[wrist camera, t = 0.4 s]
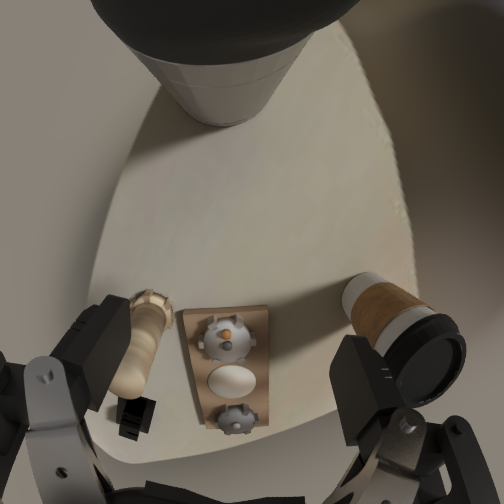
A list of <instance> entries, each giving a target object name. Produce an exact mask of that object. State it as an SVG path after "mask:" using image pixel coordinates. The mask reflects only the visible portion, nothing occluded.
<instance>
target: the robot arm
mask: <svg viewBox="0 0 504 504" xmlns="http://www.w3.org/2000/svg"><path fill="white" fill-rule="evenodd" d="M359 1H360V0H91V2H92V5H93V7H94V9H95V10H96V12H97V13H98V15H99V16H100V18H101V19H102V20H103V21H104V22H105V24H106V25H107V26H108V27H109V28H110V29H111V30H112V31H113V32H114V33H115V34H116V35H117V36H118V37H119V38H120V40H121V41H122V42H123V43H124V44H125V45H126V46H127V47H128V48H129V49H130V50H131V51H132V52H133V53H134V55H135V56H136V57H137V58H138V59H139V60H140V61H141V62H142V63H143V64H144V65H145V66H146V67H147V68H148V69H149V71H150V72H151V73H152V74H153V75H154V76H155V77H156V78H157V79H158V81H159V82H160V83H161V84H162V85H163V86H164V87H165V88H166V90H167V91H168V92H169V93H170V94H171V95H172V96H173V98H174V99H175V100H176V101H177V102H178V103H179V104H180V105H181V106H182V108H183V109H184V110H185V111H186V112H187V113H188V114H189V115H190V116H191V117H193V118H194V119H195V120H197V121H200V122H202V123H204V124H208V125H212V126H222V127H226V126H233V125H237V124H240V123H243V122H246V121H247V120H249V119H251V118H252V117H254V116H255V115H256V114H258V113H259V112H260V111H261V110H262V109H263V107H264V106H265V105H266V103H267V102H268V100H269V99H270V97H271V96H272V94H273V93H274V91H275V90H276V88H277V87H278V85H279V84H280V82H281V80H282V79H283V77H284V76H285V74H286V73H287V71H288V70H289V68H290V67H291V65H292V64H293V63H294V61H295V60H296V58H297V57H298V55H299V54H300V52H301V51H302V49H303V48H304V46H305V45H306V43H307V42H308V40H309V39H310V38H311V36H312V35H313V33H314V32H315V31H317V30H319V29H322V28H324V27H326V26H328V25H330V24H331V23H333V22H335V21H336V20H338V19H339V18H340V17H342V16H343V15H344V14H346V13H347V12H348V11H349V10H350V9H351V8H352V7H353V6H354V5H355V4H357V3H358V2H359ZM130 341H131V319H130V303H129V300H128V299H126V298H122V297H118V296H114V295H110V294H109V295H107V296H106V298H105V299H104V300H103V302H102V303H101V304H100V306H98V305H95V304H94V305H92V306H91V307H89V308H87V309H86V310H84V311H83V312H82V313H81V314H80V316H79V317H78V318H77V319H76V322H74V323H73V325H72V326H71V328H70V329H69V330H68V331H67V332H66V334H65V335H64V336H63V338H62V339H61V340H60V342H59V343H58V344H57V346H56V347H55V348H54V350H53V351H52V353H51V354H50V355H49V356H40V357H36V358H34V359H33V360H31V361H30V362H29V363H28V364H27V365H21V364H15V363H9V362H6V360H5V357H4V355H3V353H2V352H1V351H0V504H3V502H2V500H1V499H2V496H3V492H4V489H5V486H6V483H7V480H8V477H9V474H10V472H11V469H12V466H13V464H14V461H15V459H16V456H17V454H18V451H19V449H20V446H21V444H22V441H23V439H24V437H25V438H26V445H27V449H28V454H29V458H30V462H31V466H32V470H33V474H34V477H35V481H36V484H37V487H38V490H39V494H40V496H41V499H42V502H43V504H305V497H304V496H301V497H265V498H260V499H254V500H248V501H242V502H234V503H223V502H220V501H216V500H214V499H211V498H208V497H205V496H202V495H199V494H197V493H194V492H191V491H189V490H186V489H183V488H178V487H172V486H168V485H164V484H159V483H155V482H151V481H146V484H145V487H132V488H123V489H119V490H115V489H114V487H113V485H112V483H111V481H110V479H109V477H108V475H107V473H106V471H105V470H104V468H103V466H102V464H101V461H100V459H99V456H98V454H97V452H96V449H95V447H94V444H93V441H92V438H91V436H90V433H89V430H88V427H87V424H86V421H85V418H84V415H85V413H86V411H87V409H90V410H93V411H95V412H98V411H99V408H100V406H101V404H102V402H103V399H104V397H105V395H106V393H107V391H108V389H109V386H110V384H111V382H112V380H113V378H114V376H115V374H116V372H117V370H118V367H119V365H120V363H121V361H122V359H123V357H124V355H125V353H126V351H127V349H128V347H129V344H130ZM388 369H389V368H388V366H387V364H386V362H385V360H384V358H383V357H382V356H381V355H380V354H379V353H378V352H377V351H376V350H375V349H372V347H371V345H370V343H369V341H368V339H367V337H366V336H360V335H345V336H344V338H343V340H342V342H341V344H340V346H339V348H338V350H337V353H336V355H335V357H334V359H333V361H332V363H331V366H330V371H329V376H330V381H331V385H332V389H333V393H334V397H335V400H336V404H337V408H338V412H339V417H340V420H341V425H342V429H343V433H344V437H345V441H346V446H357V445H358V446H359V451H358V452H357V453H356V455H355V457H354V458H353V460H352V462H351V464H350V465H349V467H348V469H347V470H346V472H345V474H344V475H343V477H342V479H341V480H340V482H339V483H338V485H337V487H336V488H335V490H334V491H333V492H332V493H331V495H330V496H329V497H328V498H327V499H326V500H325V501H324V502H323V503H322V504H500V501H499V498H498V494H497V491H496V488H495V485H494V482H493V480H492V477H491V474H490V471H489V469H488V466H487V463H486V461H485V458H484V456H483V453H482V451H481V449H480V446H479V444H478V442H477V439H476V437H475V434H474V432H473V430H472V428H471V426H470V424H469V423H468V422H467V420H465V419H464V418H462V417H460V416H456V415H454V416H450V417H449V418H447V420H446V421H445V422H444V423H443V424H435V423H429V422H426V421H425V419H424V417H423V416H422V415H421V413H419V412H418V411H417V410H415V409H413V408H410V407H406V405H405V403H404V400H403V398H402V396H401V394H400V392H399V389H398V387H397V385H396V383H395V381H394V378H392V374H391V372H390V370H388ZM29 426H30V430H28V428H29ZM444 464H446V467H447V471H448V474H449V477H450V480H451V484H452V488H451V491H450V493H449V494H448V495H446V491H445V488H444V485H443V481H442V478H441V474H440V471H439V468H440V467H441V466H442V465H444Z"/></svg>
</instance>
